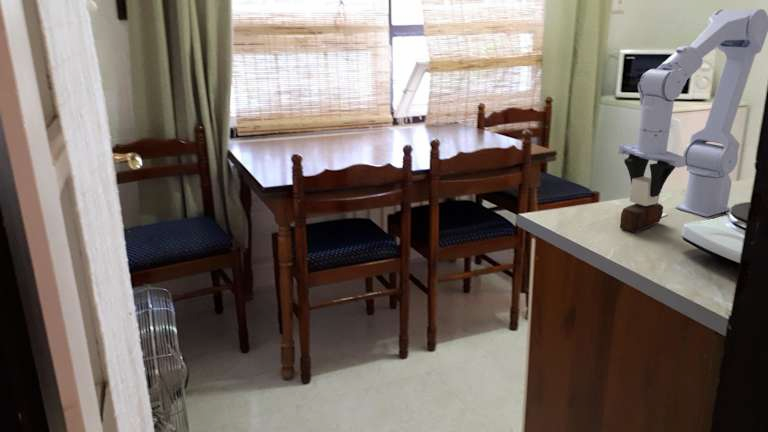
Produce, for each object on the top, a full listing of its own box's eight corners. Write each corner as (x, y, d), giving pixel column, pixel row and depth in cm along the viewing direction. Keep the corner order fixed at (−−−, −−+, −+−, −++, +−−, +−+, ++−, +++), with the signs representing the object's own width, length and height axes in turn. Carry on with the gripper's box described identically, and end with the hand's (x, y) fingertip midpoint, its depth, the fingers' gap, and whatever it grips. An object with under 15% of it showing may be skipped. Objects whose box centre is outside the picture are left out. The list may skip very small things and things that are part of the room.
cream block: (642, 198, 128) (644, 175, 127) (658, 202, 125) (661, 180, 123) (629, 201, 126) (632, 178, 125) (645, 206, 123) (648, 183, 121)
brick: (636, 234, 123) (639, 212, 121) (618, 229, 126) (621, 208, 124) (661, 221, 129) (664, 201, 128) (644, 217, 132) (647, 197, 130)
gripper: (611, 126, 125) (604, 187, 129) (673, 137, 113) (663, 205, 117) (634, 122, 128) (626, 183, 133) (696, 133, 116) (685, 199, 121)
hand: (645, 193), depth 125 cm, fingers closed on cream block, 4 cm apart
